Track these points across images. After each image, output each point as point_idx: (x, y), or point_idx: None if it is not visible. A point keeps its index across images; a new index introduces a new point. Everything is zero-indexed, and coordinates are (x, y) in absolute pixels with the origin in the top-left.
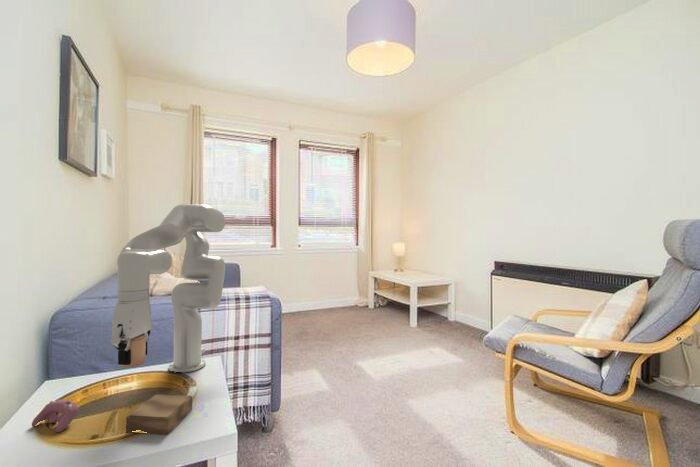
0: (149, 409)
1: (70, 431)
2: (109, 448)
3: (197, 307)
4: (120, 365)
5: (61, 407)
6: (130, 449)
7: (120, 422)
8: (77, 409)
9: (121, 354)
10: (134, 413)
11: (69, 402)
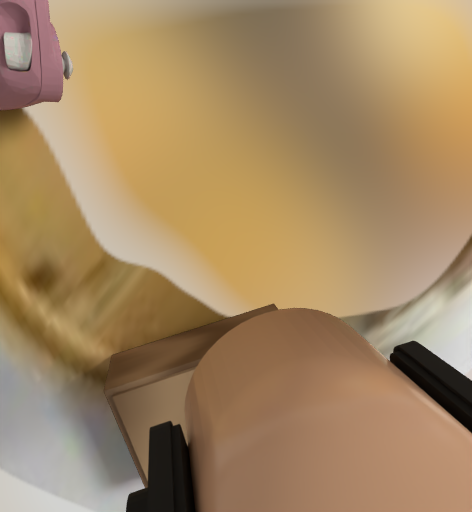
0: (180, 424)
1: (16, 146)
2: (21, 389)
3: None
4: (196, 371)
5: None
6: (52, 447)
7: (152, 275)
8: (55, 95)
9: None
10: (133, 401)
11: (29, 18)
